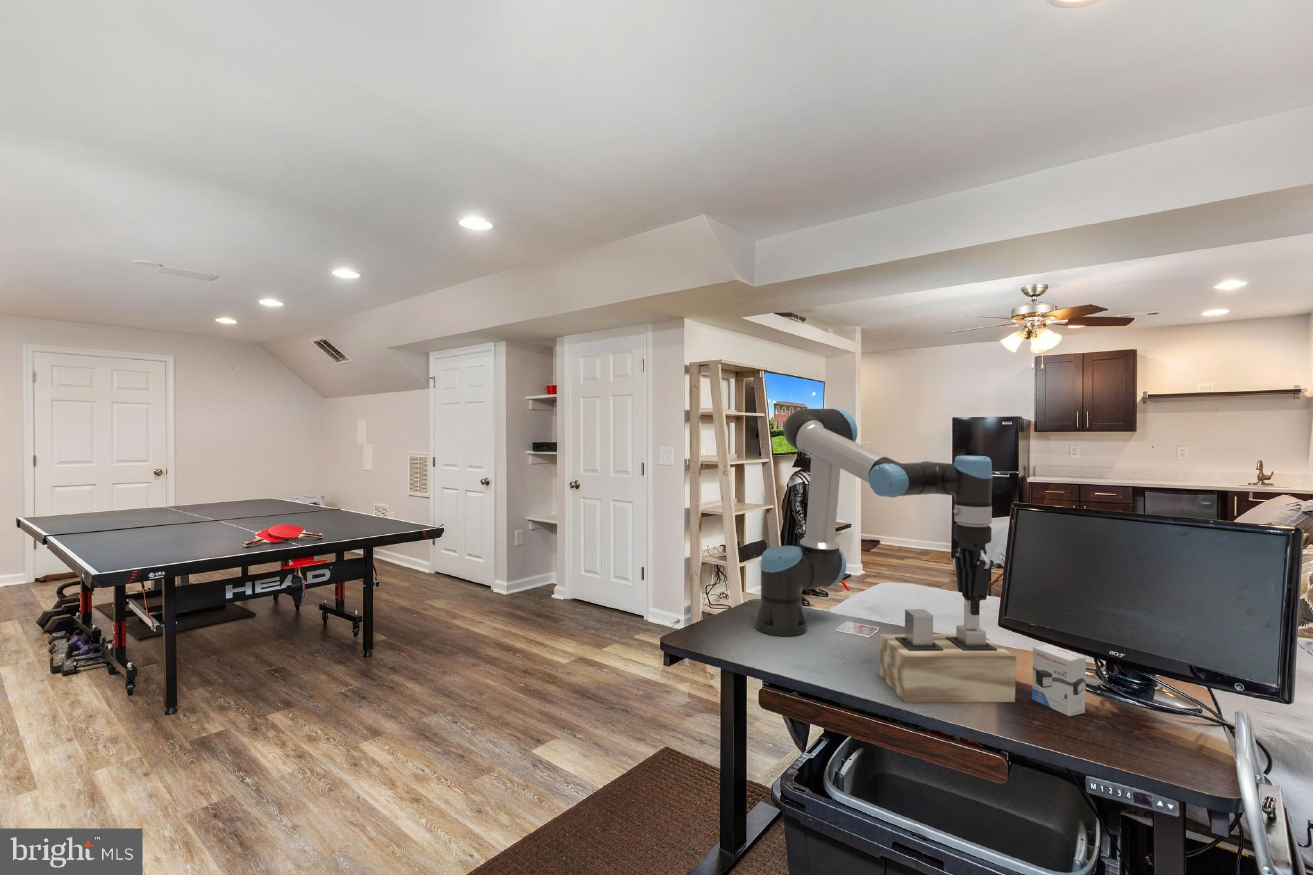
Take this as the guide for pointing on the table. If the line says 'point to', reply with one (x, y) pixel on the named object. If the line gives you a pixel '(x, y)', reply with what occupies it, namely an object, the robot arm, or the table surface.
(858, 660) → the table surface
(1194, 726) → the table surface
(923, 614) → the peg
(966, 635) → the peg
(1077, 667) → the ink box
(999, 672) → the socket block
